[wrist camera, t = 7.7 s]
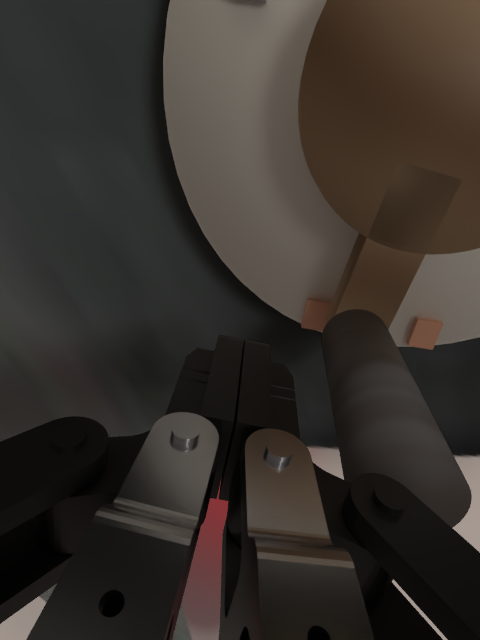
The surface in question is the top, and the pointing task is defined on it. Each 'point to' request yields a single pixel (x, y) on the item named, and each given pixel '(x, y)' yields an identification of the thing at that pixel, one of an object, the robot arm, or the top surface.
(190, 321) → the top surface
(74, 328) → the top surface
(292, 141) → the dial base
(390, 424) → the brown disc with handle
